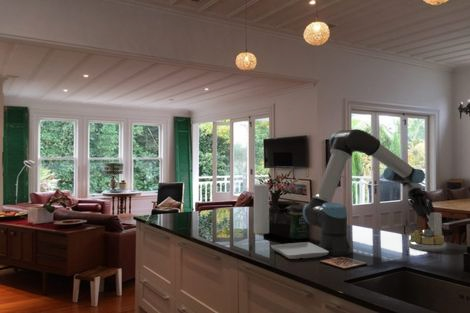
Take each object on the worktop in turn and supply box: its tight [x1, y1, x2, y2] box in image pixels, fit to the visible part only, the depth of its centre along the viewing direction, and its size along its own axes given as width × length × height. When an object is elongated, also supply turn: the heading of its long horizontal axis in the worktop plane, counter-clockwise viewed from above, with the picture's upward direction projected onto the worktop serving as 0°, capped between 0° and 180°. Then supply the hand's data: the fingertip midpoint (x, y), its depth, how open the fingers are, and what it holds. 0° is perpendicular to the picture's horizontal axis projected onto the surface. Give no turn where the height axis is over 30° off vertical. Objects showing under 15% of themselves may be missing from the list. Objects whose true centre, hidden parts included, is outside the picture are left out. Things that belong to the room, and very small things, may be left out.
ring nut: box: [410, 211, 445, 244], centre depth 194 cm, size 16×15×14 cm
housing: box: [408, 229, 447, 253], centre depth 194 cm, size 17×17×9 cm
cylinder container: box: [253, 183, 270, 235], centre depth 237 cm, size 9×9×30 cm
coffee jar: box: [289, 205, 308, 240], centre depth 220 cm, size 10×8×19 cm
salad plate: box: [270, 241, 329, 260], centre depth 182 cm, size 21×21×3 cm
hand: (434, 226), depth 199 cm, fingers closed
